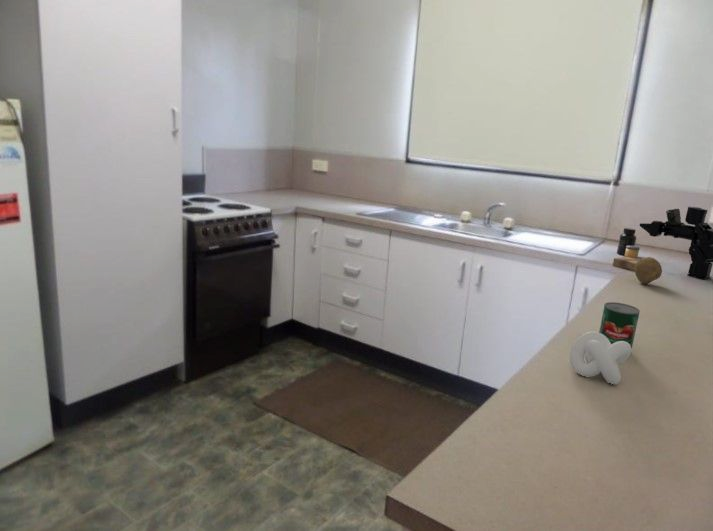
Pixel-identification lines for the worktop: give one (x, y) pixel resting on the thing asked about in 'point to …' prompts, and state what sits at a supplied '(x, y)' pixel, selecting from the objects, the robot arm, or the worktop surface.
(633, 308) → the canned tomato
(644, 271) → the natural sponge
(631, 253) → the spice jar
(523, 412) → the worktop surface
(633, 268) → the walnut plinth
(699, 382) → the worktop surface
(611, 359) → the white knot sculpture
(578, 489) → the worktop surface
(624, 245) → the supplement bottle
